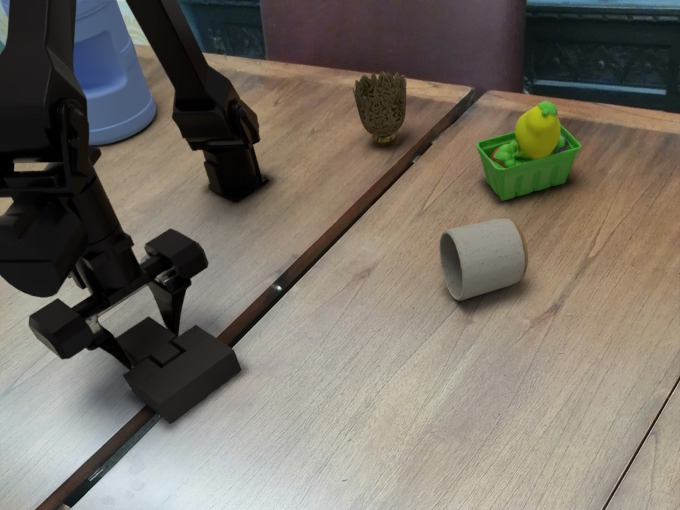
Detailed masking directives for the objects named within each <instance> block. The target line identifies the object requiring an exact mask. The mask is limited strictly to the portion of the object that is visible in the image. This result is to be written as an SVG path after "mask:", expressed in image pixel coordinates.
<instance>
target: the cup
mask: <svg viewBox="0 0 680 510" xmlns="http://www.w3.org/2000/svg"><path fill="white" fill-rule="evenodd" d="M354 86H355V88H352V92H353V96H354V100H355V105H356V108H357V113H358V116H359V119H360V122H361V125H362V127H363V128H364V129H365V131H366V132H367V133H369V134H370V135H372V141H373V142H374V144H375V145H377V146H380V147H388V146H392V145H394V144H395V143H396V142H397V140H398V136H399V133H398V131H399V130H401V128H402V126H403V125H404V122H405V120H406V112H407V86H408V85H407V79H406V77H405V74H402V75H400V74H399V72H398V71H397V72H396V73H395V74H392V72H391V71H389V70H388V71H387V72H384V71H383V70H381V71H380V73H379V75H378V77H377V74H376V72H372V74H371V76H370V77H369V76H367V75H365V74H362V75H361V77H360V78H359V80H357V79H355V81H354Z"/></svg>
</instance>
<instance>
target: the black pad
mask: <svg viewBox="0 0 680 510" xmlns="http://www.w3.org/2000/svg"><path fill="white" fill-rule="evenodd" d="M115 338H116V340H117V341H118V343H119V345H120V346H121V348H122V349H123V351H124V353H125V354H126V356H127V357H128V359H129V361H130V363H131V365H132V368H134V367H135V366H136V365H138V364H139V363H141V362H142V361H144V360H145V359H147V358H148V359H150V360H151V361H152V362H154V363H155V364H156V365H158V366H159V367H160V368H161V369H162V368H163V367H164V366H166V365H167V364H169V363H170V362H172V361H173V360H174V359H176V358H177V357H179V356H180V355H181V352H180V351H179V350H178V349H177V348H176V346H175V344H174V342H173V340H174V339H176V338H177V336H176V335H175V334H174V333H172V332H171V331H169V330H168V329H167V328H166V326H165V325H163V324H161V323H160V322H158V321H157V320H155V319H154V318H153V317H151V316H149V315H147V316H146V317H145V318H143V319H141V320H140V321H139V322H137V323H136V324H134V325H132V326H131V327H130V328H129V329H127V330H125V331H124V332H122V333H121V334H119V335H118V336H116V337H115Z"/></svg>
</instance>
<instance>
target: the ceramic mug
mask: <svg viewBox="0 0 680 510" xmlns="http://www.w3.org/2000/svg"><path fill="white" fill-rule="evenodd" d="M521 228H522V227H520V225H519V224H518V223H517V222H516V221H515V220H513V219H512V218H493V219H489V220H485V221H481V222H476V223H472V224H466V225H461V226H455V227H450V228H447V229H445V230H443V231H442V233H441V234H440V239H439V247H438V249H439V258H440V260H439V261H440V266H441V271H442V275H443V280H444V282H445V285H446V287H447V289H448V292H449V293H450V295H451V297H452V298H453V299H454V300H455V301H457V302H458V301H459V302H460V301H464V300H467V299H471V298H473V297H477V296H481V295H484V294H487V293H491V292H494V291H497V290H501V289H504V288H506V287H510V286H513V285H514V284H516V283H518V282H520V281H521V280H522V279H523V278H524V277H525V274H526V273H527V270H528V265H529V252H528V244H527V241H526V237H525V234H524V232H523V230H522V229H521Z"/></svg>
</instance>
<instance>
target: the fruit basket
mask: <svg viewBox="0 0 680 510" xmlns="http://www.w3.org/2000/svg"><path fill="white" fill-rule="evenodd" d="M558 114H559V113H558V108H557V106H556V104H555V103H553V102H551V101H548V100H542V101H540V102H539V103H537V105H535V106H534V107H532V108H530V109H529V110H527V111H526V112H524V113H523V114H522V115H521V116H519V118H518V120H517V121H516V123H515V127H514V131H511V132H508V133H505V134H501V135H498V136H494V137H491V138H486V139H484V140H480V141H478V142H477V143H476V149H477V153H478V154H479V157H480V160H481V164H482V168H483V169H482V170H483V173H484V176H485V177H484V178H485V181H486V184H487V185H489V186H490V188H491V189H492V190H493V192H494V193H495V195H497V196H498V197H499V199H500V201H507V200H510V199H513V198H515V197H521V196H525V195H528V194H531V193H533V192H538V191H539V192H540V191H542V190H545V189H546V190H547V189H548V188H550V187H555V186H559V185H564V184H565V183H566V181H567V178H568V176H569V173H570V172H571V169H572V167H573V164H574V162H575V159H576V157H577V155H578V153H579V152H580V150H581V148H582V144H581V143H580V142H579V141H578V140H577V139H576V138H575V137H574V136H573V135H572V134H571V133H570V132H569V130H567V129H566V128H565V127H564V126H563V124H561V121H560V119H559V117H558Z"/></svg>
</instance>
